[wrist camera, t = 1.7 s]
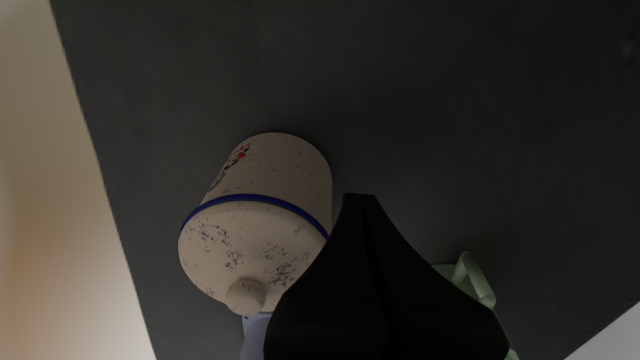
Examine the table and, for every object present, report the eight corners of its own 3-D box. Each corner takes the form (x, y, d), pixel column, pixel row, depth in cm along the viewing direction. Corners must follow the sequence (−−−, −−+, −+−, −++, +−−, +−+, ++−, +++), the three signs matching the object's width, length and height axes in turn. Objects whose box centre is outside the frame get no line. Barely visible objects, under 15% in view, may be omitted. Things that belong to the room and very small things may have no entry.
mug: (464, 320, 34) (493, 396, 28) (386, 314, 34) (397, 388, 28) (511, 241, 27) (563, 318, 21) (413, 233, 27) (436, 307, 21)
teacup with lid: (232, 111, 22) (148, 217, 12) (351, 147, 23) (363, 269, 13) (214, 228, 28) (151, 359, 18) (308, 251, 29) (294, 386, 20)
